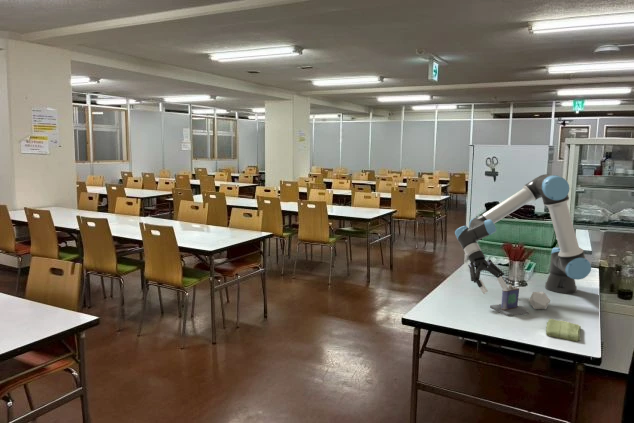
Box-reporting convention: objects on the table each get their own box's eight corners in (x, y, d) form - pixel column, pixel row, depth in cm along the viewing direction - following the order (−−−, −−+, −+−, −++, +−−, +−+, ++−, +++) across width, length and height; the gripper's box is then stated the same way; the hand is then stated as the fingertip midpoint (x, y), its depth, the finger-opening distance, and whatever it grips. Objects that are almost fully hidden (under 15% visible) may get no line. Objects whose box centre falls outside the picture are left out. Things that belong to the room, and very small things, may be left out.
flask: (504, 311, 215) (505, 286, 213) (498, 308, 218) (500, 285, 216) (519, 307, 219) (520, 284, 218) (513, 305, 222) (515, 282, 221)
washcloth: (581, 329, 198) (581, 321, 198) (580, 344, 183) (580, 336, 183) (547, 322, 205) (547, 315, 204) (543, 336, 190) (543, 329, 189)
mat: (511, 305, 226) (511, 303, 226) (528, 313, 215) (528, 311, 215) (490, 307, 223) (490, 305, 223) (506, 316, 211) (507, 314, 211)
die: (547, 314, 216) (556, 296, 218) (530, 304, 217) (539, 286, 219) (538, 314, 224) (547, 297, 226) (522, 304, 225) (531, 287, 227)
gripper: (488, 255, 244) (509, 291, 233) (451, 260, 233) (472, 298, 222) (496, 247, 239) (518, 283, 228) (460, 252, 228) (481, 290, 217)
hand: (496, 290), depth 225 cm, fingers open, 13 cm apart
